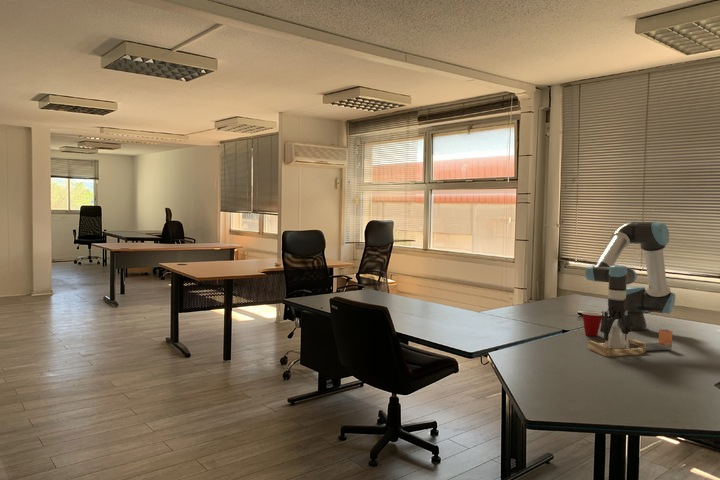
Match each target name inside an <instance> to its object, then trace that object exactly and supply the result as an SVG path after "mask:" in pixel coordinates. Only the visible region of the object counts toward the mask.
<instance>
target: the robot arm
mask: <svg viewBox="0 0 720 480" xmlns="http://www.w3.org/2000/svg"><path fill="white" fill-rule="evenodd" d="M669 242H670V231H669V229H668V226H667V225H666V224H665V223H663V222H657V221H652V222H651V221H648V222H647V221H630V222H627V223H625V224H622V225H621V226H619V227H618V228H616V229H615V230H614V231H613V233H612V234H611V236H610V241H609V242H608V244H607V246H606V247H605V249H604V250H603V252H602V253H601V255H600V256H599V257H598V259H597V261H596V263H595V264H594V265H587V266H586V268H585V272H584V276H585V278H586V279H587V280H588V281H592V282H599V283H608V295H607V296H608V299H607V307H608V308H607V310H603V311H602V312H601V314H602V318H601V322H600V328H599V329H600V330H599V331H600V332H601V333H602V334H603V340H604V343H605V346H607V347H609V348H610V337H611V335H612V334H610V332H611V329H612V326H613V324H614V322H615V321H616V319H617V322H616V326H617V327H619V329H620V330H621V332H619V337H620V340H621V343H622V346H623V349H626V348H625V343H626V341H627V335H628V334H629V333H631V331H645V330H647V327H648V326H647V322H646V319H645V316H644V315H645V312H650V313H657V314H658V313H659V314H665V315H666V314H667V315H668V314H671V313H672V312H673V310H674V307H675V303H676V293H674V292H671V288H670V287H669V286H668V285H667V277H666V267H665V258H664V250H665V248H666V246H667V245H668V244H669ZM630 244H631V245H632V244H634V245H635V244H636V245H640V249H641V250H642V251H644V257H645V266H646V273H647V275H646V276H647V281H648V282H647V284H648V287H647V288H646V287H645V286H628V285H630V284H633V283H634V282H636V280H637V278H638V276H637V272H636V270H635V269H633V268H630V267H627V266H626V265H619V264H617V265H615V264H616V262H617V260H619V257H620V255H621V254H622V253H623V251H624V249H625V248H626V247H628V246H629V245H630Z"/></svg>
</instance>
